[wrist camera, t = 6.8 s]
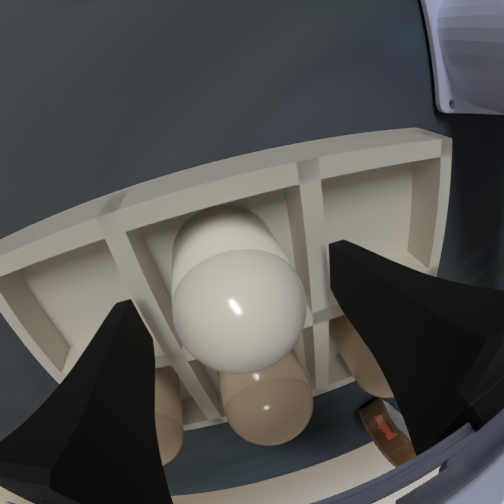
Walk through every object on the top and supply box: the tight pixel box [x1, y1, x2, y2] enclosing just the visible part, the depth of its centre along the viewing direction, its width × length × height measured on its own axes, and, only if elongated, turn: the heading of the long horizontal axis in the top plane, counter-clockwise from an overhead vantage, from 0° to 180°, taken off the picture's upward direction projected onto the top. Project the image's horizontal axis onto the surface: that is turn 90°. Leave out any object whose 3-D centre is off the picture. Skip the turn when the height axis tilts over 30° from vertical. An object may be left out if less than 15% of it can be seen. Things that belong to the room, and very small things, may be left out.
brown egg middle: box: [217, 348, 314, 446], centre depth 14 cm, size 4×4×6 cm
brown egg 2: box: [329, 314, 394, 398], centre depth 15 cm, size 4×4×6 cm
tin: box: [359, 397, 417, 468], centre depth 24 cm, size 15×3×8 cm, turn 38°
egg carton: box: [0, 127, 452, 431], centre depth 14 cm, size 21×14×3 cm
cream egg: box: [172, 205, 306, 374], centre depth 10 cm, size 4×4×6 cm
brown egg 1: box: [155, 365, 184, 465], centre depth 13 cm, size 4×4×6 cm
